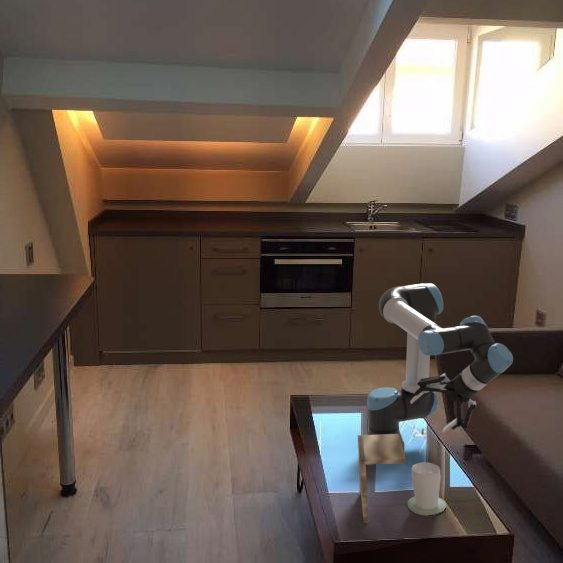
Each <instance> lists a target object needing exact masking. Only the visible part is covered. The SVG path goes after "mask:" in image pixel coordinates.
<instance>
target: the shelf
mask: <svg viewBox="0 0 563 563" xmlns="http://www.w3.org/2000/svg"><path fill="white" fill-rule="evenodd" d="M357 445H358V446H357V448H358V449H357V450H358V464H359V465H358V466H359V485H360V486H359V489H360V500H361V511H362V520H363V523H365V524H367V523H369V505H368V503H369V502H368V485H367V468H366V467H367V466H366V465H389V464H390V465H391V464H392V465H394V464H407V460H406V454H405V450H403V447H402V443H401V439H400V435H399V434H382V435H367V434H358V435H357Z"/></svg>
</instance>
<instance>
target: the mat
mask: <svg viewBox="0 0 563 563" xmlns="http://www.w3.org/2000/svg"><path fill="white" fill-rule="evenodd" d="M407 508H408V509H409V511H411V512H412V513H414V514H416V515H420V516H425V517H429V516H428V515H431V514H433V513H439V512H442V511H444V509H445V508H446V509H447V502H446V501H445V500H444V499H443V498H440V497H439V498H438V505H437V507H435V508H433V509H423V508H420V507H418V506H417V504H416V499H415V495H414V496H412V497H411V498H409V499H408V501H407ZM444 512H445V511H444Z"/></svg>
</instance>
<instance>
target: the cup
mask: <svg viewBox="0 0 563 563" xmlns="http://www.w3.org/2000/svg"><path fill="white" fill-rule="evenodd" d="M441 479H442V477H441V468H440V466H439V465H437V464H435V463H432V462H418V463H415V464H413V465H412V466H411V482H412V488H413V493H414V496H415V499H416V504H417V506H418V507H420V508H423V509H433V508H435V507H437V505H438V498H440V491H441V490H440V489H441V488H440V487H441Z"/></svg>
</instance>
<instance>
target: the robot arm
mask: <svg viewBox="0 0 563 563" xmlns="http://www.w3.org/2000/svg"><path fill="white" fill-rule="evenodd" d="M378 310H379V311H378V312H379V313H380V315H381V317H383V319H384V320H385V321H387V322H388V323H389V324H393V325H394V324H395V325H397V326H398V327H399V328H401V329H402V330H404V331H405V332H407V333H406V334H407V335H406V337H407V339H406V363H405V364H406V366H405V380H403V381H402V382H401V385H400V386H401V388H400V390H398V389H396V388H395V387H391V386H388V387H386V386H384V387H378V388H376V389H372V391H370V392H369V393H368V395H367V398H366V399H367V402H366V408H367V424H368V431H367V434H366V435H382V434H399V435H400V439H401V443H402V447H403V450H404V449H405V441H404V439H403V436H402V433H401V431H400V423H401V422H407V421H411V420H417V419H419V420H420V419H425V418H428V417H432V416H433V415H435V414H436V412H437V409H438V406H439V398H438V394H437V392H438V393H441V394H446V396H447V397H448V398H450V399H451V401H452V402H454V403H456V404H455V406H456V418H455V419H453V420H452V421H450V422H449V423H448V424H446V426H444V427H443V428H442V431H441V433H442V434H445V433H446V432H448V431H449V430H455V429H457V428H460V427H462V428H463V429H467V427H468V426H469V424H470V420H471V417H472V414H473V411H474V409H475V408H476V407H477V404H478V401H476V400H472V399H471V398H472V397H473V396H474V395H476V394H477V393H478V392H479V391H481V390H482V389H483V388H484V387H485V386H487V385H488V384H489V383H490V382H492V381H493V380H495V378H497V377H498V376H500V375H501V374H502V373H505V371H506V370H507V369H508V368H510V366H511V365H512V364H513V361H514V357H513V353H512V352H511V350H509V349H508V347H507V346H506V345H504V344H502V343H500V342H499V343H498V342H496V341H495V340H494V338H493V336H492V334H491V331H490V330H489V327H488V325H487V324H486V322H485V321H484V320H483V318H482V317H481V316H479V315H471V316H469V317H465V318H463V320H461V321H460V323H459V326H458V325H457V326H452V327H451V326H449V327H444V328H443V327H441V326H440V325H438V324H437V323H436V321H437V315H440V314H442V312H443V310H444V299H443V295H442V293H441V291H440V289H439V288H438V287H437V285H435V283H431V282H429V283H427V282H426V283H423V282H421V283H418V284H417V283H416V284H415V283H414V284H408V285H400V286H393V287H391V288H388V289H387V290H386V291H385V292H384V293H383V294H382V295H381V297H380V299H379V301H378ZM463 351H470V352H471V355H472V356H473V357H474V360H473V362H471V363H470V364H469V365H467V367H465V368H464V369H463V370H462V371H460V372H459V373H458V374H457V375H455V377H454V378H452V379H450V378H449V377H447V375H448V374H447V373H446V372H443V373H442V374H440V375H433V376H430V365H431V364H430V361H431V360H430V359H431V356H439V355H443V354H444V355H445V354H451V353H457V352H463ZM438 383H445V384H438ZM464 403H468V404H467V406H468V409H467V411H466V415H465V417H464ZM404 451H405V450H404Z"/></svg>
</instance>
